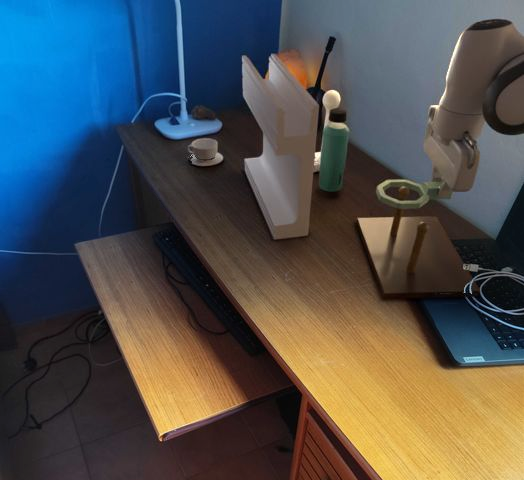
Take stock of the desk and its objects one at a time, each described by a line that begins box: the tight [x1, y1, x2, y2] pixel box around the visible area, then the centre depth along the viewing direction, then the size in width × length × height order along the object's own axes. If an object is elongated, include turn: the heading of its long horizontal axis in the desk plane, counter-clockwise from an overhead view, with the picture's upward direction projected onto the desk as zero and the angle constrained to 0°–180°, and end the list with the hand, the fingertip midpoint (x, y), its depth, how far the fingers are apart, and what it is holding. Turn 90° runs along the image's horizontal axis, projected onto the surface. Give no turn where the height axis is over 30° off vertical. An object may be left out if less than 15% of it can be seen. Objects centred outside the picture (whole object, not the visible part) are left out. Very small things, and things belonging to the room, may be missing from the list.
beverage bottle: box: [318, 107, 350, 193], centre depth 114 cm, size 6×7×20 cm
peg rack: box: [356, 187, 481, 300], centre depth 97 cm, size 19×28×13 cm
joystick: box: [313, 89, 341, 173], centre depth 123 cm, size 11×8×20 cm
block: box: [241, 53, 320, 240], centre depth 108 cm, size 35×8×28 cm, turn 13°
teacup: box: [187, 137, 224, 167], centre depth 132 cm, size 10×10×5 cm
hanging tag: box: [375, 179, 454, 210], centre depth 98 cm, size 15×10×2 cm
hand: (438, 191), depth 98 cm, fingers closed on hanging tag, 3 cm apart
